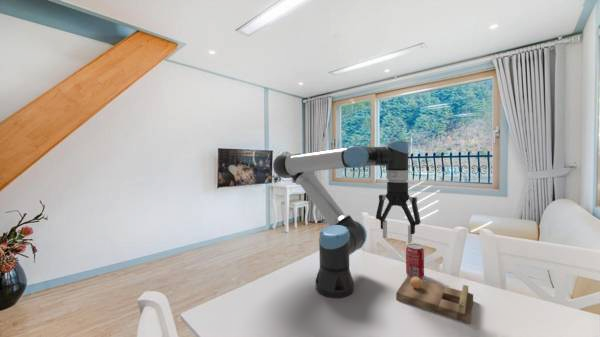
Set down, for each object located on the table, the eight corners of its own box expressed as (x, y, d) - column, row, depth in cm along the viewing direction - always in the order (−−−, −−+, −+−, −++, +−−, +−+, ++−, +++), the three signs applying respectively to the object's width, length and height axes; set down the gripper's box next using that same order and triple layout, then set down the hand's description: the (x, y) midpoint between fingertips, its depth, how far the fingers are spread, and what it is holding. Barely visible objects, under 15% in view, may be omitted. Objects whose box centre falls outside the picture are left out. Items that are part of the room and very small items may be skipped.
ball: (409, 288, 91) (409, 278, 91) (411, 284, 94) (411, 274, 94) (420, 292, 89) (421, 281, 88) (423, 287, 92) (423, 277, 92)
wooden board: (396, 299, 89) (396, 285, 89) (407, 282, 101) (407, 270, 100) (470, 323, 75) (470, 308, 75) (473, 301, 87) (473, 287, 87)
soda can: (426, 280, 102) (426, 249, 102) (407, 278, 104) (408, 248, 103) (421, 272, 109) (421, 243, 108) (404, 271, 110) (404, 242, 110)
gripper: (366, 180, 98) (366, 237, 99) (426, 183, 85) (425, 248, 86) (373, 179, 104) (373, 232, 105) (430, 182, 90) (429, 242, 91)
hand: (397, 239), depth 95 cm, fingers open, 9 cm apart
